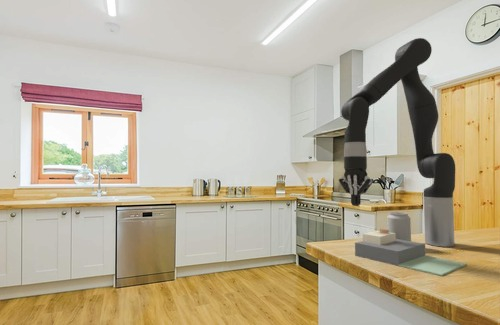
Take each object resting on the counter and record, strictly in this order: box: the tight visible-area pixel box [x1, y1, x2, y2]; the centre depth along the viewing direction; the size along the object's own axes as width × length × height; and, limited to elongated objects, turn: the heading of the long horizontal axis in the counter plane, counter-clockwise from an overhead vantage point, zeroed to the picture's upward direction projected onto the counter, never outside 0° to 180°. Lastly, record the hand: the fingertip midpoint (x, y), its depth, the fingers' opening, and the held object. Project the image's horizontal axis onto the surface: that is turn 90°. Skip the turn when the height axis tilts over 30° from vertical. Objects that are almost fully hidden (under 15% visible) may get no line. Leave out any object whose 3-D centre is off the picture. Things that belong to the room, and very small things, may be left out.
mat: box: [397, 254, 467, 277], centre depth 86 cm, size 16×11×1 cm
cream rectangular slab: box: [362, 228, 396, 245], centre depth 99 cm, size 9×6×4 cm, turn 126°
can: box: [386, 211, 412, 241], centre depth 109 cm, size 8×8×12 cm
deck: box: [354, 239, 426, 267], centre depth 96 cm, size 16×14×4 cm
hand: (355, 205), depth 106 cm, fingers closed
